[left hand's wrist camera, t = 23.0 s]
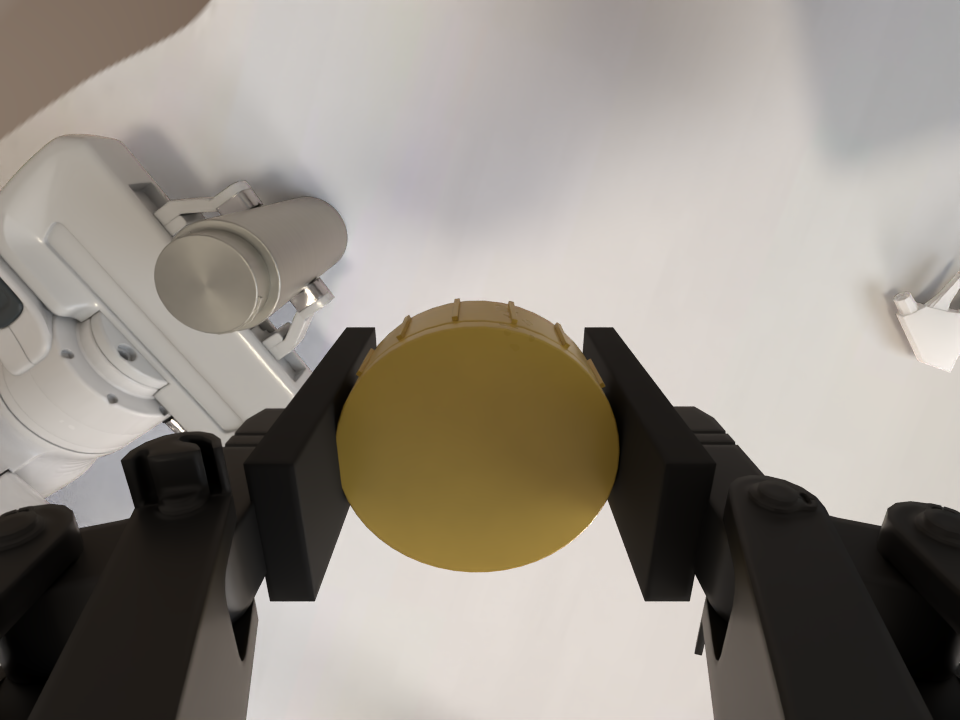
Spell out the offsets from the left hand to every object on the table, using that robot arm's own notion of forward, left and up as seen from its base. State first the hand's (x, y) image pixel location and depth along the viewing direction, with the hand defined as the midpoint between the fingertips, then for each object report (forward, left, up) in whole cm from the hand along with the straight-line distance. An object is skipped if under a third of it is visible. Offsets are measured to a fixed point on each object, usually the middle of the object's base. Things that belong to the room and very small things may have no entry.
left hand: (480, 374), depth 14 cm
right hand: (+5, -9, -17) cm, 20 cm away
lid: (0, 0, +4) cm, 4 cm away
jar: (+6, -9, -24) cm, 26 cm away
